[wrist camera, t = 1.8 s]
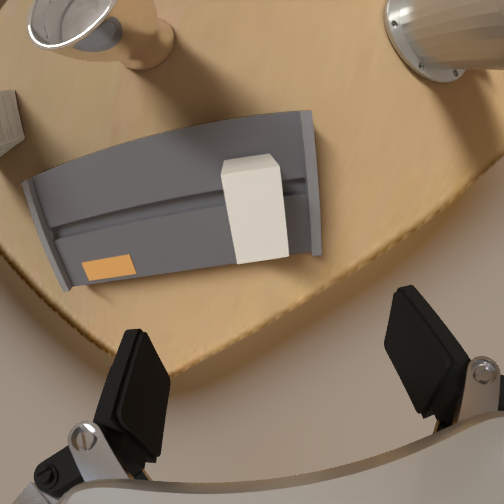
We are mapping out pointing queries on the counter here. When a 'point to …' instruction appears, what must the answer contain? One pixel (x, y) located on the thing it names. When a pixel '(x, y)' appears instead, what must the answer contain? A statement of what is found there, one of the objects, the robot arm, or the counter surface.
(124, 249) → the fader board
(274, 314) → the counter surface
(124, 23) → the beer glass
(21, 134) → the supplement box
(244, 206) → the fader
